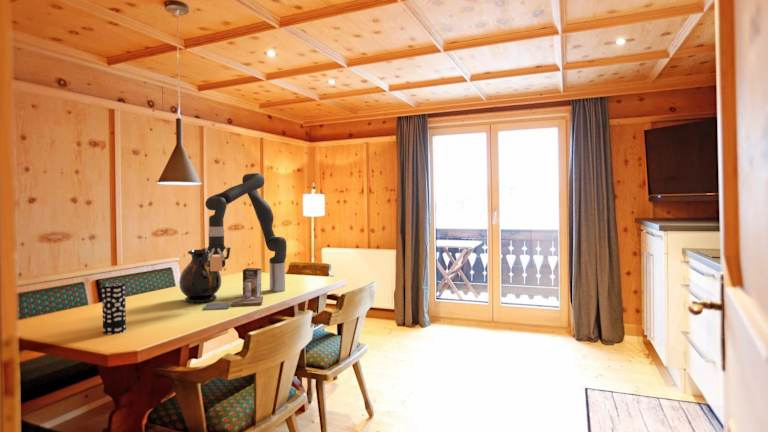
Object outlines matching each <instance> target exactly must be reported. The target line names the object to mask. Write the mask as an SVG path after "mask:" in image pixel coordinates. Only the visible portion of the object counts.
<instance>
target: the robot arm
mask: <svg viewBox="0 0 768 432" xmlns="http://www.w3.org/2000/svg"><path fill="white" fill-rule="evenodd" d="M264 185H265V178H264V176H263V174H261V173H259V172H257V173H256V172H254V173H246V174H244V175H243V176H242V183H238V184H237V185H233V186H231V187H229V188H227V189H226V190H224V191H222V192H219V193H217V194H214V195H211V196H209V197H208V198H207V199H205V200H206V201H205V207H206V208H207V210H209V211H214V213H213V214H212V215H210V216H209V218H208V247H203V248H202V251H203V256H204V259H205V260H208V267H210V257H212V256H221V257H222V268H223V269H224V268H225V266H226V260H228V259H229V258H230V254H231V249H232V248H231V247H228V246H227V247H226V245H225V229H224V218H225V214H226V210H227V206H228V204H231V203H233V202H234V201H236V200H238V199H240V198H241V197H243V196H244V195H247V196H248V198H249V200H250V203H251V205H252V207H253V210H254V212H255V215H256V218H257V221H258V223H259V227H260V228H261V231H262V233H263V234H262V235H263V238H264V241H265V245H266V248H267V250H268V251H270V252H274V256H272V257H270V258H269V291H270V292H272V293H273V292H275V293H277V292H284V291H285V290H286V258H287V240H286V238H285V237H283V236H276V235H275V233H274V230H273V225H274V219H275V218H274V213H273V210H272V208H271V206H270V204H269V203H268V202H267V201H266V200H265V199H264V198H263V197H262V196H261V195H260V193H259V191H258V189H261V188H263V186H264ZM207 250H209V251H210V252H211V253H210V254H209V258H208V257H207V253H206V252H207ZM224 251H225V252H226V255H225V254H224Z"/></svg>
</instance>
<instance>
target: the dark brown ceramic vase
mask: <svg viewBox="0 0 768 432" xmlns="http://www.w3.org/2000/svg"><path fill="white" fill-rule="evenodd" d="M202 249H203V248H202ZM202 249H201V248H200V249H191V250H188V251H187V254H188V255H191V260H190V262H189V263H188V264H187V265H186V266H185V268H184V269H183V270H182V272H181V275H180V277H179V281H178V283H179V288H180V291H181V293H182V294H183V295H184V296H185V298H184V302H186V303H188V304H205V303H206V304H208V303H210V302H214V301H215V300H217V297H218V296H217V295H216V294H217V293H218V291H219V290H220V288H221V286H222V275H221V273H220V271H210V267H208V260H205V259H204V256H203V251H202ZM206 253H207V257H208V258H209V255H210V253H211V252H210V251H209V250H207V252H206Z"/></svg>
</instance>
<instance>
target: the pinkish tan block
mask: <svg viewBox="0 0 768 432" xmlns="http://www.w3.org/2000/svg"><path fill="white" fill-rule="evenodd" d="M223 270H224V268H222V257H221V256H220V255H213V256H212V257H210V271H219V272H223Z"/></svg>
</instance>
